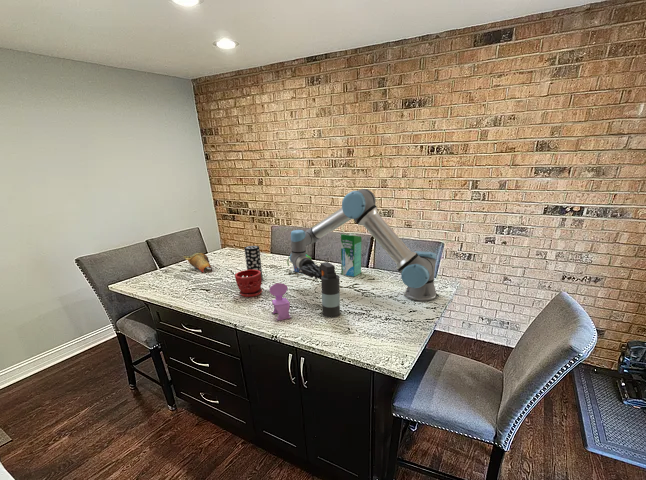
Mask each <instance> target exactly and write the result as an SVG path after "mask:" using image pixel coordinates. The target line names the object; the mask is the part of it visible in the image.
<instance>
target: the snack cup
mask: <svg viewBox="0 0 646 480" xmlns="http://www.w3.org/2000/svg"><path fill="white" fill-rule="evenodd" d="M306 257H308V258H309V259H311V260H312V261H313V259H312V257H311V256H310V255H309V254H307V253H306ZM289 261H290V256H289V257H288V258H287V260H286V262H287V263H286V264H287V266H288V267H289V266H290V263H289ZM292 267H293V270H294V272H296V273H299V268H298V267H296V266H295V265H293V264H292Z"/></svg>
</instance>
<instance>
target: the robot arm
mask: <svg viewBox="0 0 646 480" xmlns="http://www.w3.org/2000/svg"><path fill="white" fill-rule="evenodd" d="M376 202H377V200H376V196H375V194H374V192H372V190H370V189H367V188H361V189H358V190H351V191H350V192H348V193H347V194H346V195H345V196H344V197H343V199H342V201H341V207H340V208H339V209H337V210H336V211H335V212H333V213H331V214H329V216H327V217H325V218H324V219H322V220H320V221H319V222H317V223H316V224H315V225H313V226H312V227H310V228H308V229H306V230H303V229H293V230H292V231H290V247H291V252H290V254H289V257H290V258H289V261H290V263H291V264H292V266H293V265H295V266H296V267H298V268H299V272H298V273H299V274H302V275H304V276H307V277H309V278H314V279H315V280H318V279H319V280H320V281H321V276H322V270H321V264H320V265H318V264H316V263H315V261H314V260H313V259H312V258H311V259H312V260H311V259H310V258H309V257H306V254H307V252H306V251H307V249H306V248H307V246H309V245H311V244H314V243H316V242H318V241H320V240H321V239H322V238H323V237H325V236H326V235H328V234H330V233H332V232H333V231H334V230H337V229H338V228H340V227H341V226H343V225H344V224H346V223H347V222H350V221H351V220H354V222H355V223H356V224H357V225H358V226H363V227H364V228H365V229H366V230H367V231H368V232H369V234H370V235H371V236H372V237H373V238H374V240H375V241H376V242H377V243H378V244H379V245H380V247H381V248H382V249H383V250H384V251H385V252H386V253H387V255H388V256H389V257H390V258H391V259H392V261H393V262H394V263H395V264H396V270H397V271H398V273H399V274H400V276H401V277H400V278H401V281H402V283H403V284H404V285H405V286H406V289H405V297H406V298H407V299H410V300H413V301H418V302H429V301H433V300H435V299H436V298H437V297H440V295H439V294H438V293H437V290H436V286H435V271H436V263H437V262H436V261H437V254H436V253H435V252H432V251H426V250H425V251H424V250H414V251H411V250H410V249H409V248H408V247H407V245H406V244H405V243H404V242H403V240H401V238H400V237H399V236H398V235H397V233H396V232H395V231H394V230H393V229H392V227H390V225H389V224H388V223H387V222H386V221H385V220H384V219H383V217H382V216H381V215H380V214H379V213H378V206H377V205H376V204H377V203H376Z"/></svg>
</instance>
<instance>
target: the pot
mask: <svg viewBox="0 0 646 480" xmlns="http://www.w3.org/2000/svg"><path fill="white" fill-rule="evenodd" d="M182 258H183V259H184V260H186V261H187V262H188V263H189V265H191V266H192V268H196V269H198V270H199V271H200V272H202V273H204V270H205V268H209V269H210V271H211V272H212V271H213V269H212V265H211V264H210V260H209V257H208V255H207V254H205V253H204V252H200V251H199V252H194V253H193V254H191V255H183V256H182Z"/></svg>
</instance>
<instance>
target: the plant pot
mask: <svg viewBox="0 0 646 480" xmlns="http://www.w3.org/2000/svg"><path fill="white" fill-rule="evenodd" d="M250 275H253V276H250ZM234 279H235V282H236V286H237V288H238V290H239V295H241V297H244V298H253V297H257V296H259V295H260V294H262V293H263V289H262V282H263V281H262V279H261V272H260V271H259V270H247V269H244V270H241V271H239V272H236V273H235V274H234Z"/></svg>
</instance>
